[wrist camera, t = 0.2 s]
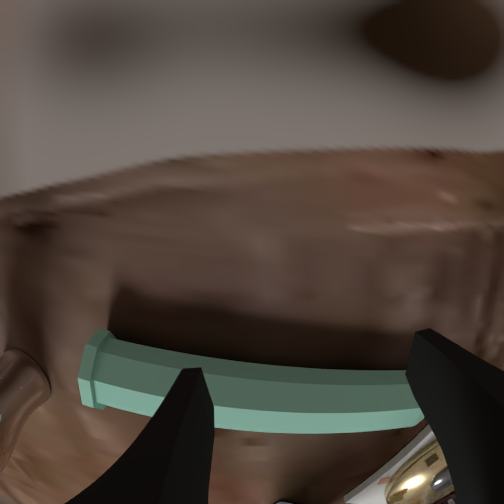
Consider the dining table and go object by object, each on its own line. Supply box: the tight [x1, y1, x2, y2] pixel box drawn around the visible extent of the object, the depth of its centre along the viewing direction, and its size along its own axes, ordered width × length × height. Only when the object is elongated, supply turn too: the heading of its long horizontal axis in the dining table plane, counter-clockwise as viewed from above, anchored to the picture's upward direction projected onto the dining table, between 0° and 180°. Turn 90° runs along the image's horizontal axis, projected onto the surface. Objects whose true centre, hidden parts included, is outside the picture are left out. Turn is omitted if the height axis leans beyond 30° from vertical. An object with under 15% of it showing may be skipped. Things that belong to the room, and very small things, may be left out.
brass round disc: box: [384, 439, 454, 504], centre depth 21 cm, size 16×16×6 cm
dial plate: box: [343, 424, 436, 504], centre depth 25 cm, size 18×18×1 cm
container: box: [78, 329, 425, 433], centre depth 19 cm, size 6×6×25 cm
